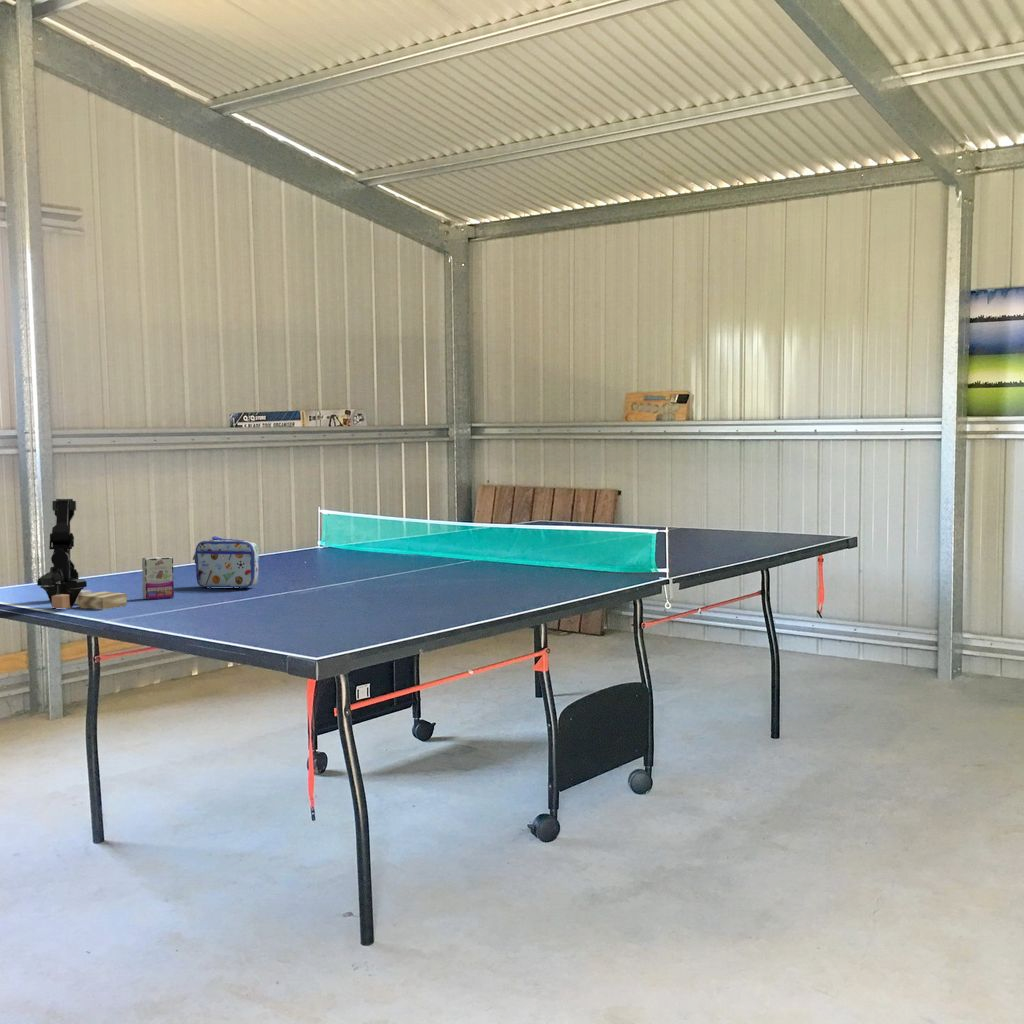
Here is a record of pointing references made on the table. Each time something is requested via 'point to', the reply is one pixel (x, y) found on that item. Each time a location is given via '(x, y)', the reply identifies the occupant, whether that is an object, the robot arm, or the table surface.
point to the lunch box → (226, 563)
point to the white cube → (82, 594)
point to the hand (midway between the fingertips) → (62, 605)
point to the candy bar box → (157, 577)
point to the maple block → (102, 600)
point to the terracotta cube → (61, 601)
